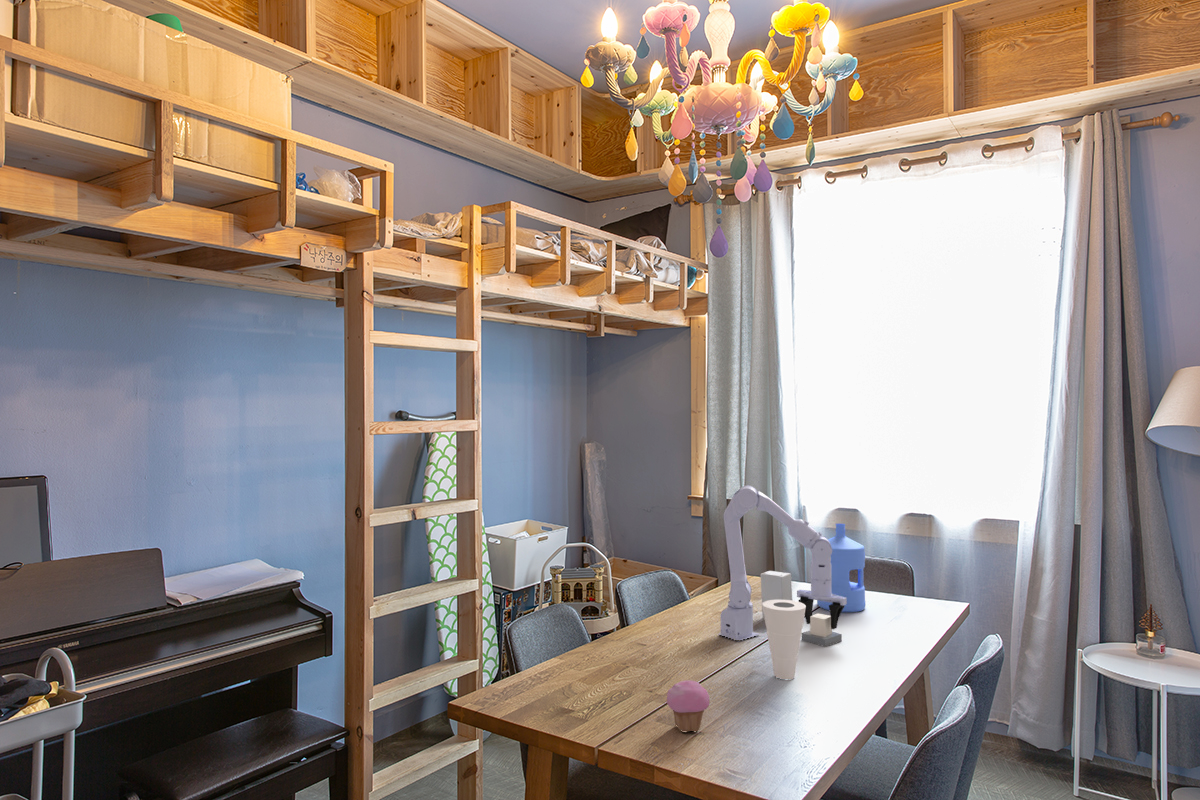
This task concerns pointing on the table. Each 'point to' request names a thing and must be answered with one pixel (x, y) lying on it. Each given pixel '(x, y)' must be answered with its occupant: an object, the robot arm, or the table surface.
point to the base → (822, 638)
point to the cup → (784, 634)
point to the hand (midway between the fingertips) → (821, 625)
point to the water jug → (846, 571)
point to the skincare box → (775, 586)
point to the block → (820, 625)
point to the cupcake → (688, 704)
